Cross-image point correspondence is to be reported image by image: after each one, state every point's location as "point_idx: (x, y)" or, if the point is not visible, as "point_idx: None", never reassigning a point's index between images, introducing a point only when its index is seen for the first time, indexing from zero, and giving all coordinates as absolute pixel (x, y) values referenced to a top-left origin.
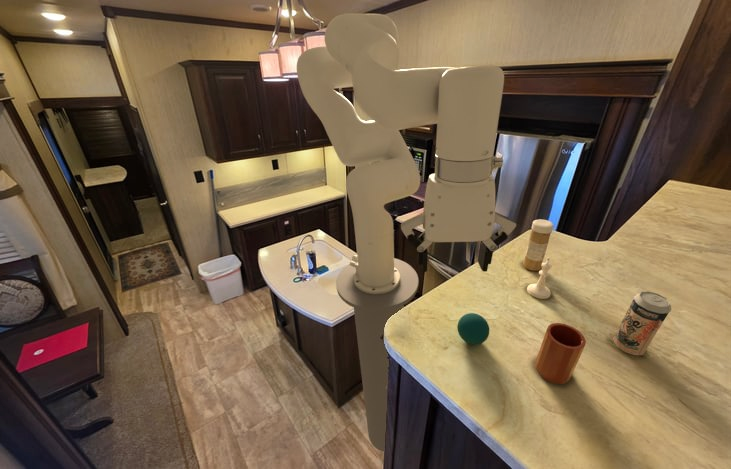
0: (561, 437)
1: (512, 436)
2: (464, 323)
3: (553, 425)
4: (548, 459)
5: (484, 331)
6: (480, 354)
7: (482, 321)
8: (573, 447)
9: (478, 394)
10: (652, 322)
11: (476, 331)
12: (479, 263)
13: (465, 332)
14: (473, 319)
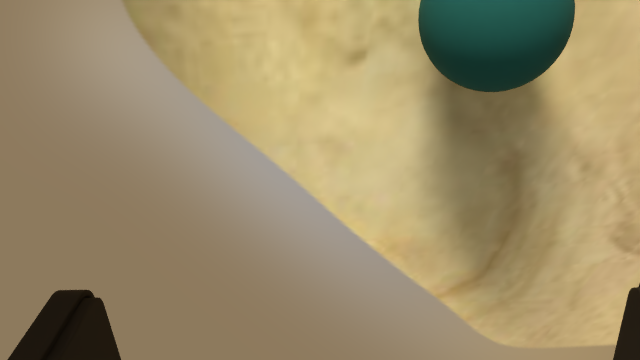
0: (612, 305)
1: (489, 309)
2: (449, 50)
3: (611, 282)
4: (551, 343)
5: (534, 77)
6: None
7: (544, 47)
8: None
9: (436, 221)
10: None
11: (494, 87)
12: (626, 343)
13: (444, 74)
14: (499, 49)
